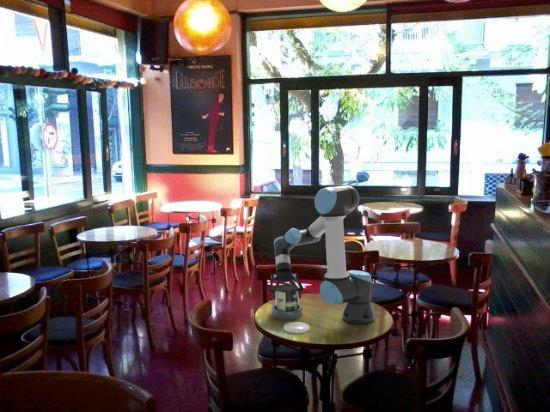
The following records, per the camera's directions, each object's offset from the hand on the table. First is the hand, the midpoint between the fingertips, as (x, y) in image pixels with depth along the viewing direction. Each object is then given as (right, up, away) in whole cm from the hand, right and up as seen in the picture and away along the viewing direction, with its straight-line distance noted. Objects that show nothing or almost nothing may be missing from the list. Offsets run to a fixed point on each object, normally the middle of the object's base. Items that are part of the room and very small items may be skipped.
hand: (287, 304), depth 257 cm
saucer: (+4, -8, -14) cm, 17 cm away
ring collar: (0, -5, +4) cm, 7 cm away
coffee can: (0, -6, +4) cm, 7 cm away
